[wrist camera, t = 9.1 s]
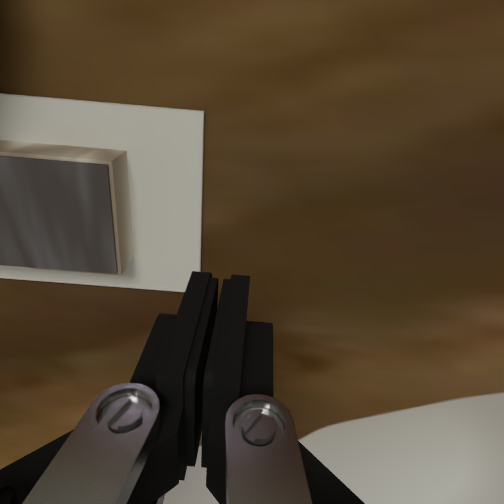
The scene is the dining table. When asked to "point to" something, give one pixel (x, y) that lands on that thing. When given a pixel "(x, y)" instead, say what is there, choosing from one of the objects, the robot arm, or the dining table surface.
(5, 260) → the ash tile
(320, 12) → the dining table surface
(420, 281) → the dining table surface
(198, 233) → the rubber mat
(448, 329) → the dining table surface
